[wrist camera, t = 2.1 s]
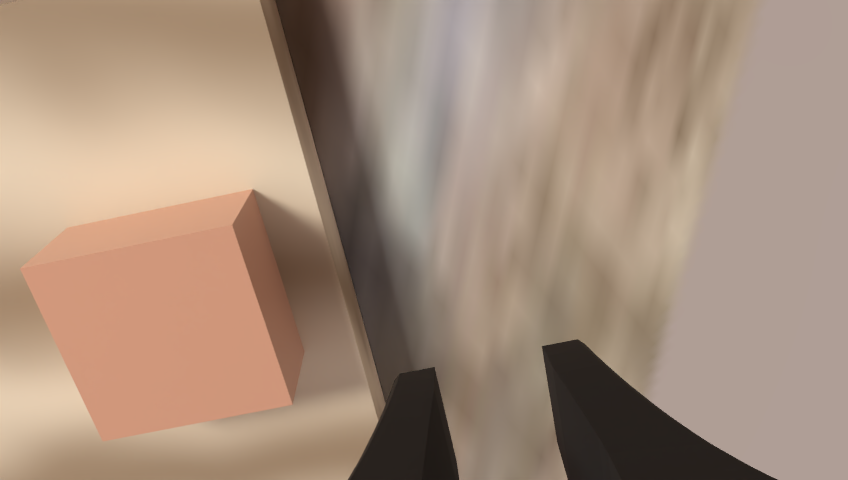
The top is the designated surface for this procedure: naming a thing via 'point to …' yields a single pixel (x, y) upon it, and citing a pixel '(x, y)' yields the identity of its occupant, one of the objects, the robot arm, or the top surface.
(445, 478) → the robot arm
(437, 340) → the top surface
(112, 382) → the block
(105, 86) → the board
